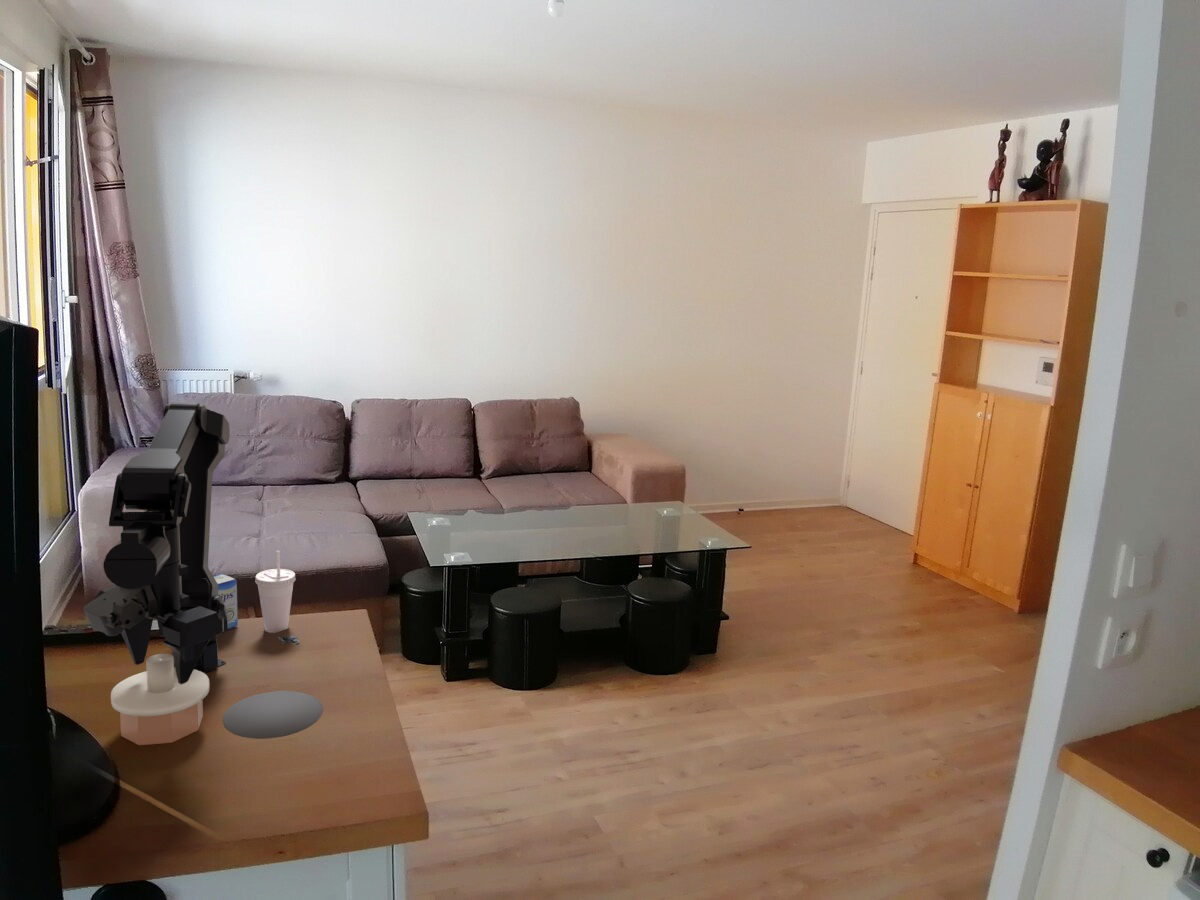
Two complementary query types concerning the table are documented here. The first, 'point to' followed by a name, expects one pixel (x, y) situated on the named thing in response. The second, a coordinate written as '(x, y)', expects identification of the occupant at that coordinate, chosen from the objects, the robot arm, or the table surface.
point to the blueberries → (289, 640)
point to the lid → (158, 689)
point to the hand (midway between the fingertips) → (160, 673)
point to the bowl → (161, 726)
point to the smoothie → (275, 596)
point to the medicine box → (228, 597)
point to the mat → (272, 714)
